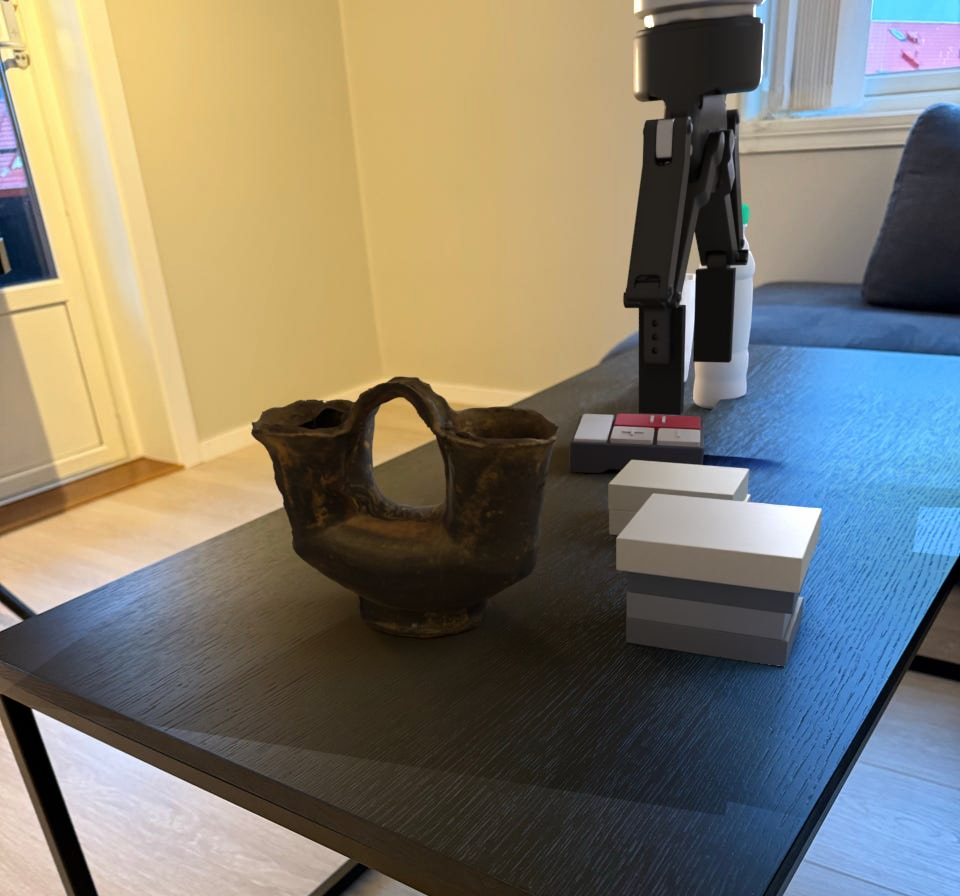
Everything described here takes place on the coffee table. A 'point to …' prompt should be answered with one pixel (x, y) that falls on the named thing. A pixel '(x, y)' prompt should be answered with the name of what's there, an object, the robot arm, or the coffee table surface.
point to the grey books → (712, 618)
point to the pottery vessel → (413, 529)
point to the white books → (670, 486)
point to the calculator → (634, 441)
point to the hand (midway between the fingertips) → (688, 385)
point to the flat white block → (721, 541)
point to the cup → (688, 316)
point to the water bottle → (731, 377)
